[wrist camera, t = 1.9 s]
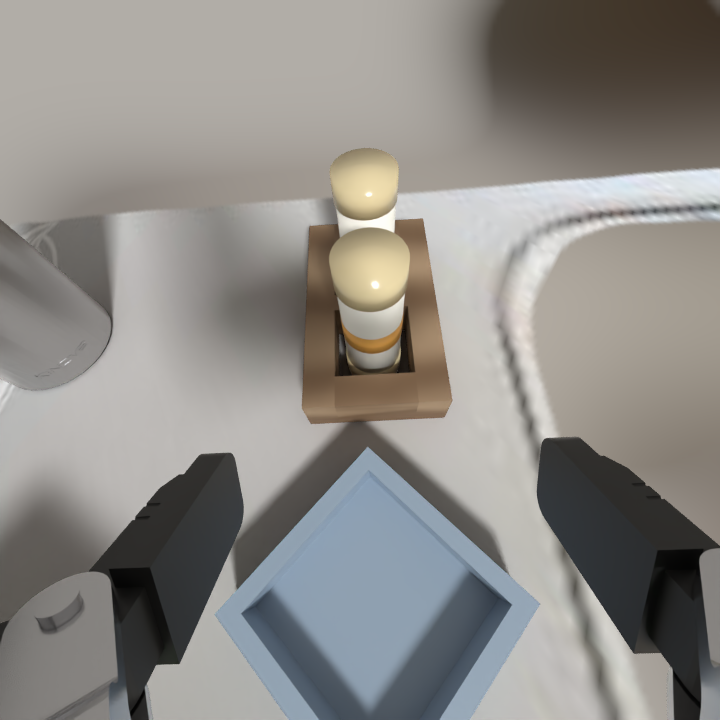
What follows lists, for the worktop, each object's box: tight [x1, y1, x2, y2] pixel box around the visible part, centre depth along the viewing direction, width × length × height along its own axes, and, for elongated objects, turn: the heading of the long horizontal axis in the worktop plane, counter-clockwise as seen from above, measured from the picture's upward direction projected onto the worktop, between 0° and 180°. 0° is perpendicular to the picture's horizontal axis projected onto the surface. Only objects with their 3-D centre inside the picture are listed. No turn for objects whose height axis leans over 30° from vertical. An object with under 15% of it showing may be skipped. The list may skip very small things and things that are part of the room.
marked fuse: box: [329, 227, 410, 376], centre depth 24 cm, size 4×4×12 cm
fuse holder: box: [302, 219, 452, 424], centre depth 29 cm, size 17×10×4 cm, turn 2°
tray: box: [215, 447, 540, 720], centre depth 20 cm, size 12×12×4 cm
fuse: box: [330, 148, 399, 237], centre depth 27 cm, size 4×4×12 cm
